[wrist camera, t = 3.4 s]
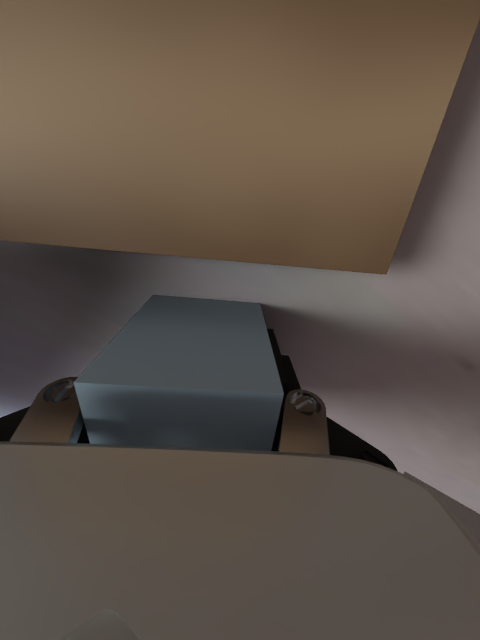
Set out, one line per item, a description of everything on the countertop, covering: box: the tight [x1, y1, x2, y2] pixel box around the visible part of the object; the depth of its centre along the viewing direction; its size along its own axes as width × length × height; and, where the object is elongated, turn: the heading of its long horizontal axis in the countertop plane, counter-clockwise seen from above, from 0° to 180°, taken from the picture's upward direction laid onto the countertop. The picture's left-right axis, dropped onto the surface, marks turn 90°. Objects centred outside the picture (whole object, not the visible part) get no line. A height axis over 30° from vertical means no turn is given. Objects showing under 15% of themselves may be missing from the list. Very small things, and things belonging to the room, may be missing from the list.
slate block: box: [74, 295, 284, 451], centre depth 9 cm, size 5×5×6 cm
